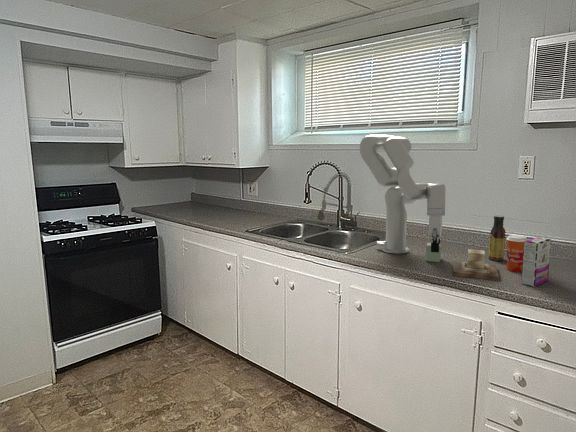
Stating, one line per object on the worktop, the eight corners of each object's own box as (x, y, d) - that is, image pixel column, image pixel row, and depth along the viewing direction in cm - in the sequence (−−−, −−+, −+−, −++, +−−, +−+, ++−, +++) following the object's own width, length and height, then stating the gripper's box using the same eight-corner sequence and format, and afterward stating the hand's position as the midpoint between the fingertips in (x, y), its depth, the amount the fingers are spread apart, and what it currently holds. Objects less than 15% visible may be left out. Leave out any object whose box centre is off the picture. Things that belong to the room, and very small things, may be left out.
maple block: (467, 269, 166) (468, 252, 165) (467, 265, 172) (468, 249, 171) (483, 271, 164) (484, 254, 163) (483, 267, 170) (484, 250, 168)
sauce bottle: (490, 256, 191) (493, 214, 188) (505, 259, 187) (508, 215, 184) (486, 259, 186) (489, 216, 183) (501, 262, 182) (505, 217, 179)
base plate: (453, 275, 164) (453, 269, 163) (454, 265, 178) (454, 259, 178) (498, 280, 158) (499, 273, 157) (495, 268, 172) (496, 263, 172)
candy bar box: (534, 278, 160) (537, 236, 158) (548, 281, 156) (552, 238, 154) (519, 283, 154) (523, 240, 151) (534, 287, 150) (538, 242, 147)
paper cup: (501, 270, 171) (503, 236, 168) (507, 266, 176) (510, 233, 174) (522, 274, 165) (525, 239, 163) (528, 270, 170) (531, 236, 168)
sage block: (425, 260, 186) (426, 245, 185) (426, 257, 191) (427, 242, 190) (439, 262, 183) (440, 246, 182) (440, 258, 189) (441, 243, 188)
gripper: (428, 209, 193) (428, 245, 195) (425, 214, 177) (425, 253, 179) (445, 209, 190) (445, 246, 192) (444, 214, 174) (443, 254, 176)
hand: (435, 249), depth 186 cm, fingers open, 9 cm apart
